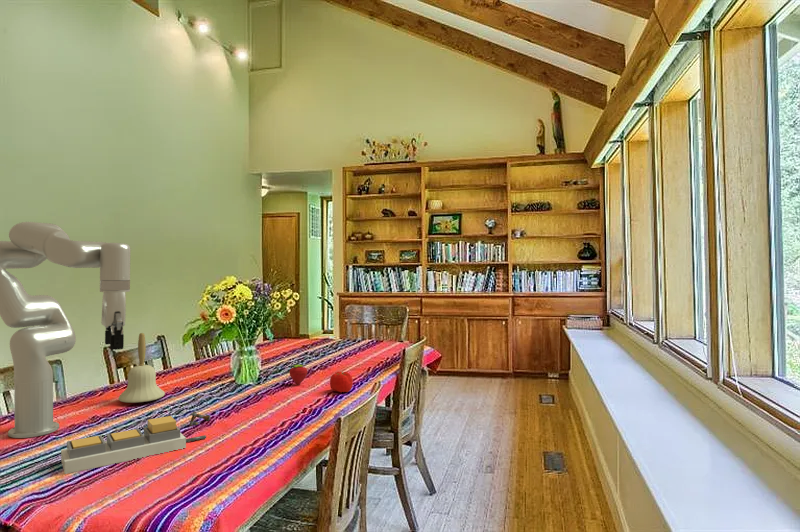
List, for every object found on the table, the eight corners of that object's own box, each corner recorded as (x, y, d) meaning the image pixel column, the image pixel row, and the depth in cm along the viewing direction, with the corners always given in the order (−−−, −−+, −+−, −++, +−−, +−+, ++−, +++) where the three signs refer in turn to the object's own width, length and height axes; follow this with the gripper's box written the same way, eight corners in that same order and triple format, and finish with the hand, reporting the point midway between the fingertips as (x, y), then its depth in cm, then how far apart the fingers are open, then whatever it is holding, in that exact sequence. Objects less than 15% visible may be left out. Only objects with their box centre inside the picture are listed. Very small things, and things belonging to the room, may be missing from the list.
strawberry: (306, 386, 212) (306, 362, 212) (288, 386, 212) (288, 362, 212) (308, 383, 218) (308, 359, 218) (290, 383, 218) (290, 359, 218)
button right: (147, 427, 144) (147, 419, 144) (170, 423, 147) (170, 415, 147) (152, 433, 139) (152, 425, 139) (176, 429, 142) (176, 421, 142)
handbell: (109, 403, 187) (108, 334, 187) (146, 393, 200) (146, 329, 200) (136, 408, 180) (136, 337, 180) (173, 398, 193) (173, 331, 193)
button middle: (110, 441, 138) (110, 433, 138) (135, 437, 142) (135, 429, 142) (114, 448, 133) (114, 439, 133) (140, 443, 137) (140, 435, 137)
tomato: (342, 395, 198) (342, 376, 198) (325, 392, 204) (325, 373, 204) (358, 390, 206) (358, 372, 206) (342, 387, 211) (342, 369, 211)
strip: (61, 461, 133) (61, 441, 133) (201, 433, 154) (201, 416, 154) (64, 474, 125) (64, 452, 125) (211, 443, 146) (211, 425, 146)
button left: (71, 449, 133) (71, 440, 133) (98, 444, 136) (98, 435, 136) (73, 456, 128) (73, 447, 128) (101, 450, 132) (101, 442, 132)
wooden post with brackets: (185, 425, 160) (189, 410, 161) (202, 428, 167) (206, 414, 168) (190, 426, 159) (194, 411, 161) (207, 429, 166) (210, 414, 168)
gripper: (95, 284, 151) (94, 343, 152) (104, 288, 138) (103, 352, 138) (124, 284, 156) (123, 341, 156) (135, 288, 142) (134, 350, 142)
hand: (114, 346), depth 147 cm, fingers open, 9 cm apart
